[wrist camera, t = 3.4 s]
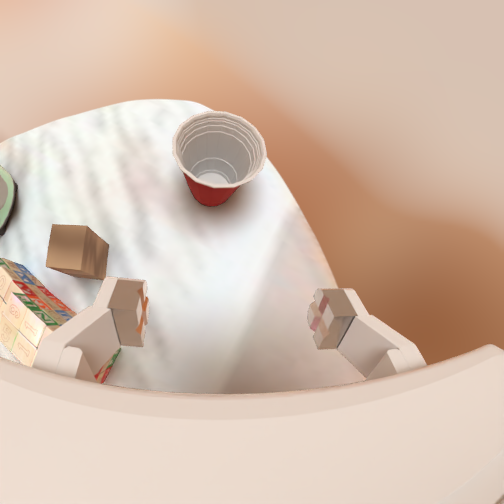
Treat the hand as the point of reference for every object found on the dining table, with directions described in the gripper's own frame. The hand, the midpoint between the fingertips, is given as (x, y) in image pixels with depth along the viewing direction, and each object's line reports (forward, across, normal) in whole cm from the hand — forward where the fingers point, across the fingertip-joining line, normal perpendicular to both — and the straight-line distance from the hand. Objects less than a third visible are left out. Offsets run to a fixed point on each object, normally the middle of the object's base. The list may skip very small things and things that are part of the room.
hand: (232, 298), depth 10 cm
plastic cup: (+32, 0, -7) cm, 33 cm away
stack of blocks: (+17, -22, -23) cm, 36 cm away
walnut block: (+23, -17, -16) cm, 33 cm away
